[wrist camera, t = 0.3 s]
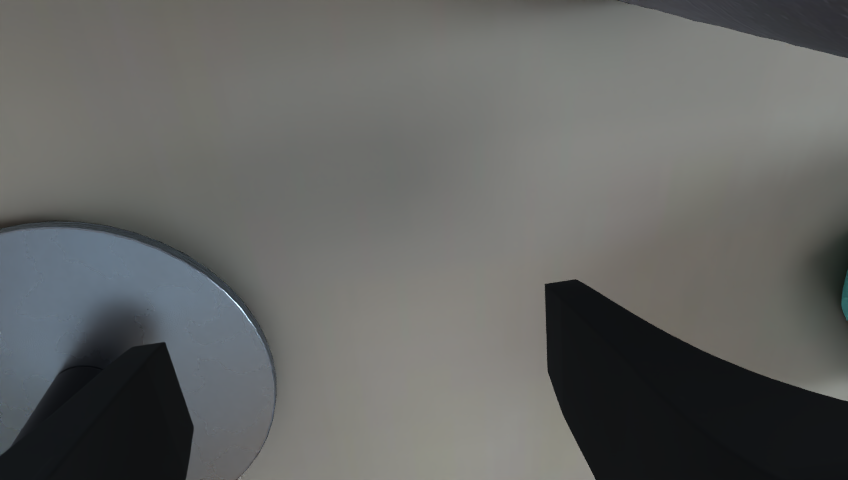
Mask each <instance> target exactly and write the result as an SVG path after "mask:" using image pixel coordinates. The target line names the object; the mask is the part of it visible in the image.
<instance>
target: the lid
mask: <svg viewBox="0 0 848 480" xmlns="http://www.w3.org/2000/svg"><path fill="white" fill-rule="evenodd" d="M160 342H165V343H166V346H167V349H168V352H169V354H170V357H171V360H172V363H173V366H174V369H175V372H176V375H177V378H178V381H179V384H180V387H181V390H182V393H183V396H184V399H185V402H186V405H187V408H188V411H189V414H190V417H191V420H192V423H193V425H194V432H193V439H192V446H191V453H190V459H189V465H188V471H187V477H186V480H237V479H238V478H239V477H240V476H241V475H242V474H243V473H244V472H245V471H246V470H247V469H248V468H249V466H250V465H251V463H252V462H253V461H254V459H255V458H256V457H257V455H258V454H259V452H260V450H261V448H262V446H263V444H264V443H265V441H266V439H267V437H268V434H269V430H270V427H271V424H272V421H273V416H274V409H275V403H276V396H277V389H276V372H275V367H274V361H273V357H272V354H271V351H270V348H269V345H268V343H267V340H266V338H265V336H264V334H263V332H262V330H261V328H260V326H259V324H258V322H257V320H256V319H255V318H254V316H253V315H252V313H251V312H250V311H249V309H248V308H247V306H246V305H245V304H244V302H243V301H242V300H241V299H240V298H239V297H238V296H237V295H236V294H235V293H234V291H233V290H232V289H231V288H230V287H229V286H228V285H227V284H226V283H225V282H223V281H222V280H221V279H220V278H219V277H217V276H216V275H215V274H214V273H213V272H211V271H210V270H209V269H208V268H206V267H205V266H203V265H201V264H200V263H198V262H197V261H195V260H194V259H192V258H191V257H189V256H188V255H186V254H184V253H182V252H180V251H178V250H176V249H174V248H172V247H170V246H168V245H166V244H164V243H162V242H159V241H157V240H154V239H151V238H149V237H146V236H143V235H140V234H138V233H134V232H130V231H127V230H123V229H119V228H115V227H111V226H105V225H98V224H91V223H83V222H58V221H51V222H39V223H28V224H21V225H16V226H11V227H7V228H2V229H0V455H2V454H3V453H4V452H6V451H7V450H8V449H9V448H11V447H12V446H13V445H14V444H16V443H17V442H18V441H19V440H21V439H22V438H23V437H24V436H26V435H27V434H28V433H29V432H31V431H32V430H33V429H34V428H35V427H37V426H38V425H39V424H40V423H42V422H43V421H44V420H45V419H47V418H48V417H49V416H50V415H52V414H53V413H54V412H55V411H56V410H57V409H59V408H60V407H61V406H62V405H63V404H64V403H66V402H67V401H68V400H69V399H70V398H71V397H72V396H74V395H75V394H76V393H77V392H78V391H79V390H81V389H82V388H83V387H84V386H85V385H86V384H88V383H89V382H90V381H91V380H92V379H93V378H94V377H96V376H97V375H98V374H99V373H100V372H101V371H102V370H104V369H105V368H106V367H107V366H108V365H109V364H111V363H112V362H113V361H114V360H115V359H117V358H118V357H119V356H120V355H122V354H123V353H124V352H126V351H127V350H128V349H130V348H131V347H134V346H141V345H147V344H154V343H160Z"/></svg>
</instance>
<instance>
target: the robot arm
mask: <svg viewBox="0 0 848 480" xmlns="http://www.w3.org/2000/svg"><path fill="white" fill-rule="evenodd" d="M545 303H546V334H547V365H548V373H549V376H550V379H551V382H552V385H553V388H554V391H555V394H556V397H557V400H558V402H559V405H560V408H561V410H562V413H563V416H564V418H565V420H566V422H567V424H568V426H569V428H570V430H571V432H572V434H573V436H574V438H575V440H576V442H577V444H578V446H579V448H580V450H581V452H582V453H583V455H584V457H585V459H586V461H587V463H588V465H589V467H590V469H591V471H592V473H593V475H594V477H595V479H596V480H848V401H844V400H840V399H836V398H832V397H829V396H825V395H822V394H818V393H815V392H811V391H808V390H805V389H802V388H799V387H796V386H793V385H789V384H786V383H783V382H780V381H777V380H774V379H771V378H768V377H766V376H763V375H760V374H757V373H755V372H752V371H749V370H747V369H744V368H742V367H739V366H737V365H735V364H732V363H730V362H727V361H725V360H722V359H720V358H718V357H715V356H713V355H711V354H709V353H706V352H704V351H702V350H700V349H698V348H696V347H694V346H692V345H690V344H688V343H686V342H684V341H682V340H680V339H678V338H676V337H674V336H672V335H670V334H668V333H666V332H665V331H663V330H661V329H659V328H657V327H655V326H654V325H652V324H650V323H648V322H647V321H645V320H643V319H641V318H640V317H638V316H636V315H635V314H633V313H631V312H629V311H628V310H626V309H625V308H623V307H621V306H620V305H618V304H616V303H615V302H613V301H611V300H610V299H608V298H607V297H605V296H603V295H602V294H600V293H599V292H597V291H595V290H594V289H592V288H590V287H589V286H587V285H585V284H584V283H582V282H580V281H578V280H576V279H575V280H568V281H562V282H555V283H549V284H545ZM193 432H194V425H193V423H192V420H191V417H190V414H189V411H188V408H187V405H186V402H185V399H184V396H183V393H182V390H181V387H180V384H179V381H178V378H177V375H176V372H175V369H174V366H173V363H172V360H171V357H170V354H169V352H168V349H167V346H166V343H165V342H160V343H154V344H147V345H141V346H134V347H131V348H130V349H128V350H127V351H126V352H124V353H123V354H122V355H120V356H119V357H118V358H117V359H115V360H114V361H113V362H112V363H111V364H109V365H108V366H107V367H106V368H105V369H104V370H102V371H101V372H100V373H99V374H98V375H97V376H96V377H94V378H93V379H92V380H91V381H90V382H89V383H88V384H86V385H85V386H84V387H83V388H82V389H81V390H79V391H78V392H77V393H76V394H75V395H74V396H72V397H71V398H70V399H69V400H68V401H67V402H66V403H64V404H63V405H62V406H61V407H60V408H59V409H57V410H56V411H55V412H54V413H53V414H52V415H50V416H49V417H48V418H47V419H45V420H44V421H43V422H42V423H40V424H39V425H38V426H37V427H35V428H34V429H33V430H32V431H31V432H29V433H28V434H27V435H26V436H24V437H23V438H22V439H21V440H19V441H18V442H17V443H16V444H14V445H13V446H12V447H11V448H9V449H8V450H7V451H6V452H4V453H3V454H2V455H0V480H186V477H187V471H188V465H189V459H190V453H191V446H192V439H193Z"/></svg>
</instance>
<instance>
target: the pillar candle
mask: <svg viewBox="0 0 848 480" xmlns="http://www.w3.org/2000/svg"><path fill="white" fill-rule="evenodd" d="M619 1H622V2H626V3H629V4H634V5H639V6H642V7H645V8H650V9H656V10H659V11H662V12H665V13H669V14H673V15H677V16H681V17H683V18H687V19H690V20H693V21H697V22H703V23H707V24H712V25H717V26H722V27H725V28H729V29H733V30H737V31H740V32H744V33H748V34H751V35H755V36H759V37H764V38H769V39H774V40H778V41H782V42H786V43H789V44H792V45H795V46H800V47H805V48H809V49H812V50H817V51H821V52H825V53H829V54H833V55H837V56H841V57H846V58H848V0H619Z"/></svg>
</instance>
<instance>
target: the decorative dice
mask: <svg viewBox="0 0 848 480" xmlns="http://www.w3.org/2000/svg"><path fill="white" fill-rule="evenodd" d="M841 305H842V310H843V313H844V315H845V317H846V319H847V321H848V270H847V274H846V278H845V282H844V286H843V293H842V302H841Z"/></svg>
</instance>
